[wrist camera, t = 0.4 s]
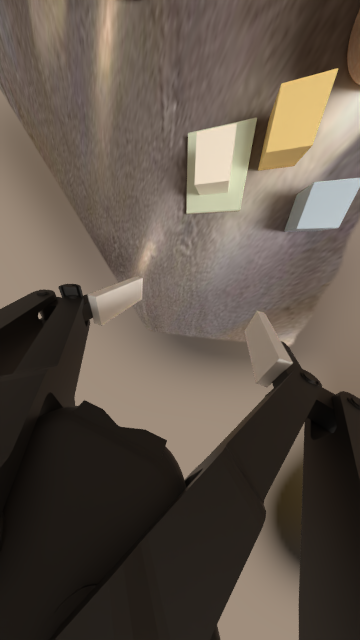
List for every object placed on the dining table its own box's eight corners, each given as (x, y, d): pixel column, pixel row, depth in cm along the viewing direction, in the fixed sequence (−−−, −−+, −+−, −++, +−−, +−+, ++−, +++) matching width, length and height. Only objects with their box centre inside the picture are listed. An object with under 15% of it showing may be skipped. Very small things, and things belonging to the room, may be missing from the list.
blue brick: (296, 194, 25) (314, 182, 20) (335, 191, 23) (364, 177, 19) (283, 231, 28) (296, 228, 23) (317, 231, 26) (338, 227, 22)
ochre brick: (268, 119, 22) (281, 83, 17) (311, 110, 20) (338, 67, 15) (257, 170, 25) (265, 152, 20) (293, 166, 23) (312, 145, 18)
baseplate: (189, 136, 25) (178, 104, 20) (256, 122, 22) (266, 79, 16) (187, 214, 31) (178, 207, 26) (239, 211, 28) (243, 202, 23)
